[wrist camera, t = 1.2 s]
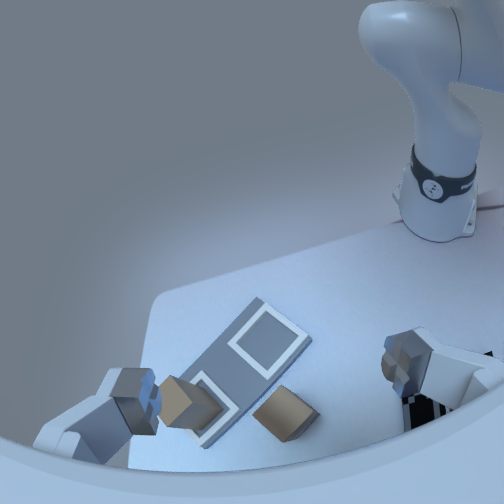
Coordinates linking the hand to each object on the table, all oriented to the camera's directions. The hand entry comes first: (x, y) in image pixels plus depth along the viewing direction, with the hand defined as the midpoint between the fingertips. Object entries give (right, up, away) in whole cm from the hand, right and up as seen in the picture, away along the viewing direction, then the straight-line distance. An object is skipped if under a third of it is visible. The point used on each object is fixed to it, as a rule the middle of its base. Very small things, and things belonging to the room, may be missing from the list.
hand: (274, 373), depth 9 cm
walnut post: (+6, -20, +28) cm, 34 cm away
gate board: (-4, -15, +34) cm, 38 cm away
